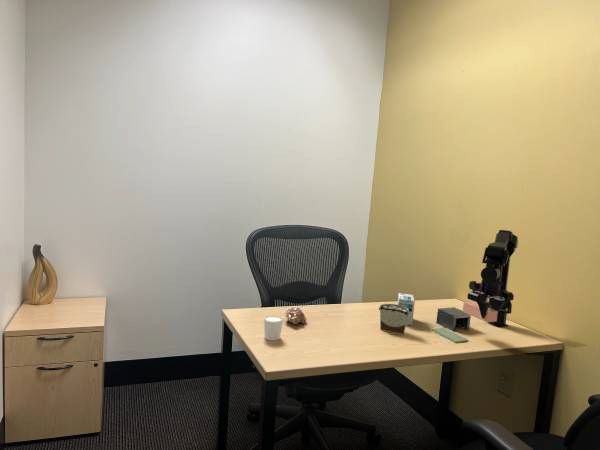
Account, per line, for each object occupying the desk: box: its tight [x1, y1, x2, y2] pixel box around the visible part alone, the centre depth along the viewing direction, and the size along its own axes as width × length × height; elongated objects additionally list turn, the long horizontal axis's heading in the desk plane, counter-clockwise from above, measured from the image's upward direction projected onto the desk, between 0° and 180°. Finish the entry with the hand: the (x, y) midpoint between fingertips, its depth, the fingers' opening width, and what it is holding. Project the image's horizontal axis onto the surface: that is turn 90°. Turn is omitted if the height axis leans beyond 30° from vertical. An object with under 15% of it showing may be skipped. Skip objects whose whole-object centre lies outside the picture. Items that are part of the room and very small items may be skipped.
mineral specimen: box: [284, 307, 307, 325], centre depth 188 cm, size 12×8×7 cm
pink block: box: [462, 301, 498, 323], centre depth 184 cm, size 5×13×4 cm, turn 22°
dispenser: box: [435, 307, 472, 332], centre depth 198 cm, size 9×10×6 cm
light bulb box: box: [397, 292, 416, 326], centre depth 200 cm, size 11×7×11 cm, turn 168°
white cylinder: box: [263, 315, 284, 341], centre depth 169 cm, size 7×7×7 cm
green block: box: [431, 327, 469, 344], centre depth 186 cm, size 6×14×1 cm, turn 24°
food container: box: [378, 303, 410, 336], centre depth 187 cm, size 12×6×10 cm, turn 65°
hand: (488, 317), depth 180 cm, fingers closed on pink block, 5 cm apart
